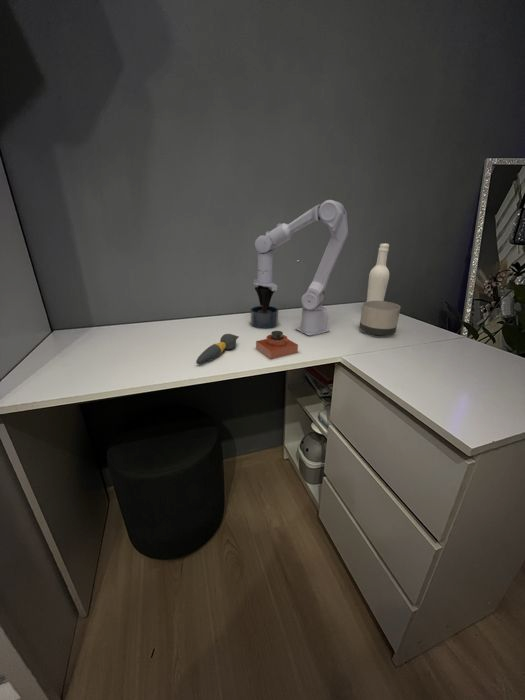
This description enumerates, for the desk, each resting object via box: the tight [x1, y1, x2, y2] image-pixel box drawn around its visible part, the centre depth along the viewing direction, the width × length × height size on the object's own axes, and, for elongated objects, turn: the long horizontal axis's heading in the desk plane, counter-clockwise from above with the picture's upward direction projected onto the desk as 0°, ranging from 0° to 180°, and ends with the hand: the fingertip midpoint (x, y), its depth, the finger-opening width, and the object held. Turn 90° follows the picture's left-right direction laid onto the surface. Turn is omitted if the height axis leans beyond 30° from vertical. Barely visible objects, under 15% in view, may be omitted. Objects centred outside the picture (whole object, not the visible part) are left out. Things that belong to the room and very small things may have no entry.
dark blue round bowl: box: [250, 305, 279, 330], centre depth 118 cm, size 11×11×6 cm
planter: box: [358, 300, 401, 337], centre depth 109 cm, size 13×13×10 cm
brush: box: [257, 299, 272, 313], centre depth 117 cm, size 6×6×10 cm
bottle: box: [366, 243, 390, 301], centre depth 124 cm, size 8×8×30 cm
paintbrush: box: [195, 333, 240, 365], centre depth 91 cm, size 20×5×5 cm, turn 155°
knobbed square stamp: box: [255, 334, 299, 360], centre depth 94 cm, size 10×9×4 cm
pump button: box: [270, 330, 284, 340], centre depth 93 cm, size 4×4×2 cm
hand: (264, 305), depth 116 cm, fingers closed on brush, 2 cm apart
